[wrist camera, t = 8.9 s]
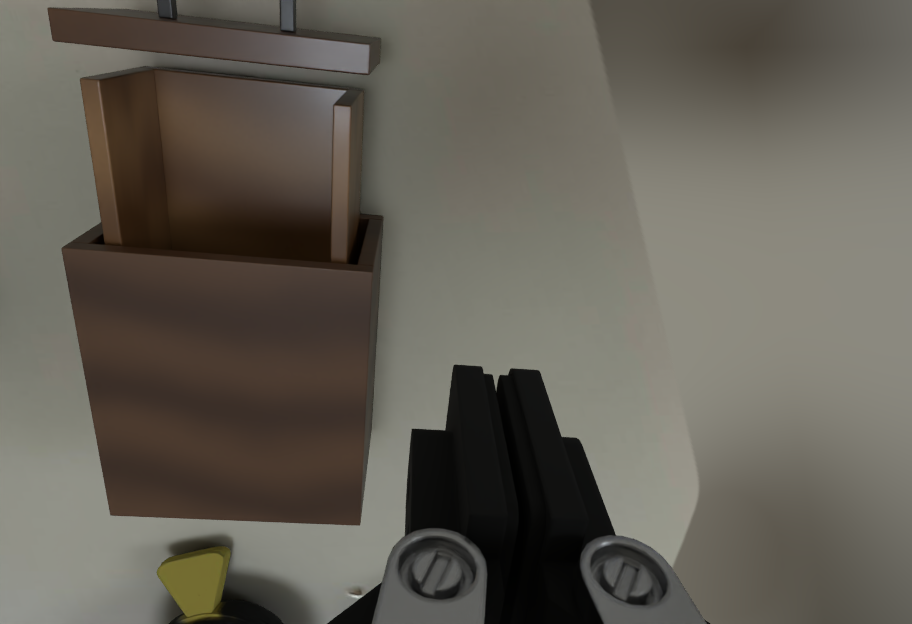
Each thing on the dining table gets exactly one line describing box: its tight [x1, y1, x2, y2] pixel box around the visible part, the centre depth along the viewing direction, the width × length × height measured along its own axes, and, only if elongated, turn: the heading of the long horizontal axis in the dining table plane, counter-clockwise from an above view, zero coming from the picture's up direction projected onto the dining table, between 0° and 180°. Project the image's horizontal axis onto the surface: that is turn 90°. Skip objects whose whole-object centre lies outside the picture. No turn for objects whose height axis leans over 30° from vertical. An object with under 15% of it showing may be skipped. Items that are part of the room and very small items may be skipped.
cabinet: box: [62, 214, 384, 525], centre depth 35 cm, size 16×14×9 cm
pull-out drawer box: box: [48, 0, 381, 265], centre depth 29 cm, size 20×12×7 cm, turn 174°
